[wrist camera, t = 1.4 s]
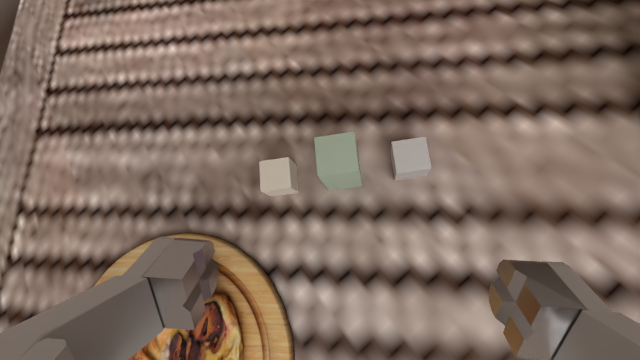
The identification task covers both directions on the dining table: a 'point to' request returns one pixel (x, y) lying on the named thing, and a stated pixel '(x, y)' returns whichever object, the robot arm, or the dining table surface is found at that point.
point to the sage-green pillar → (338, 161)
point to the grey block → (410, 158)
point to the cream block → (278, 177)
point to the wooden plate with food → (224, 312)
